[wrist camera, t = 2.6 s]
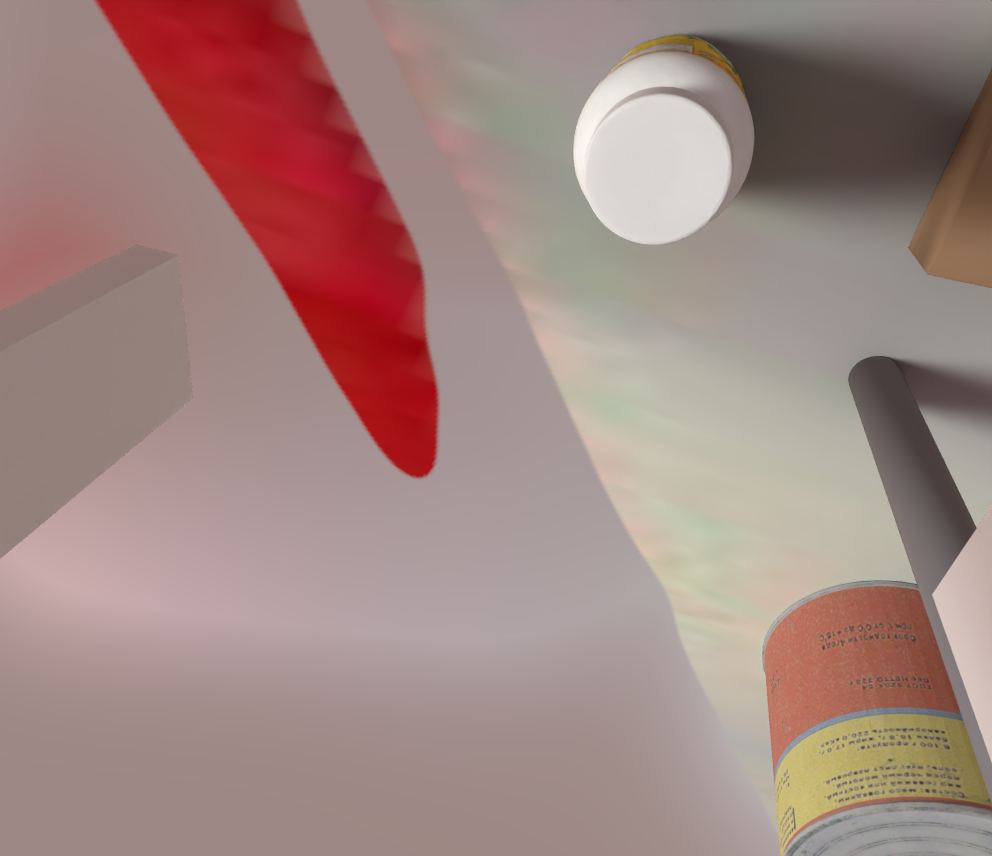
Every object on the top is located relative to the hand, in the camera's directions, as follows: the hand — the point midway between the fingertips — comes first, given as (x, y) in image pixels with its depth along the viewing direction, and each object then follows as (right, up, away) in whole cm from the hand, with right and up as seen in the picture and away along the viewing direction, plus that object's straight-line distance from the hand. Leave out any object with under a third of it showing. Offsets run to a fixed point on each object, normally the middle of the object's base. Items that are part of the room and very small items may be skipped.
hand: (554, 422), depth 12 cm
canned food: (+19, -12, +27) cm, 36 cm away
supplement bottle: (+6, +12, +16) cm, 21 cm away
